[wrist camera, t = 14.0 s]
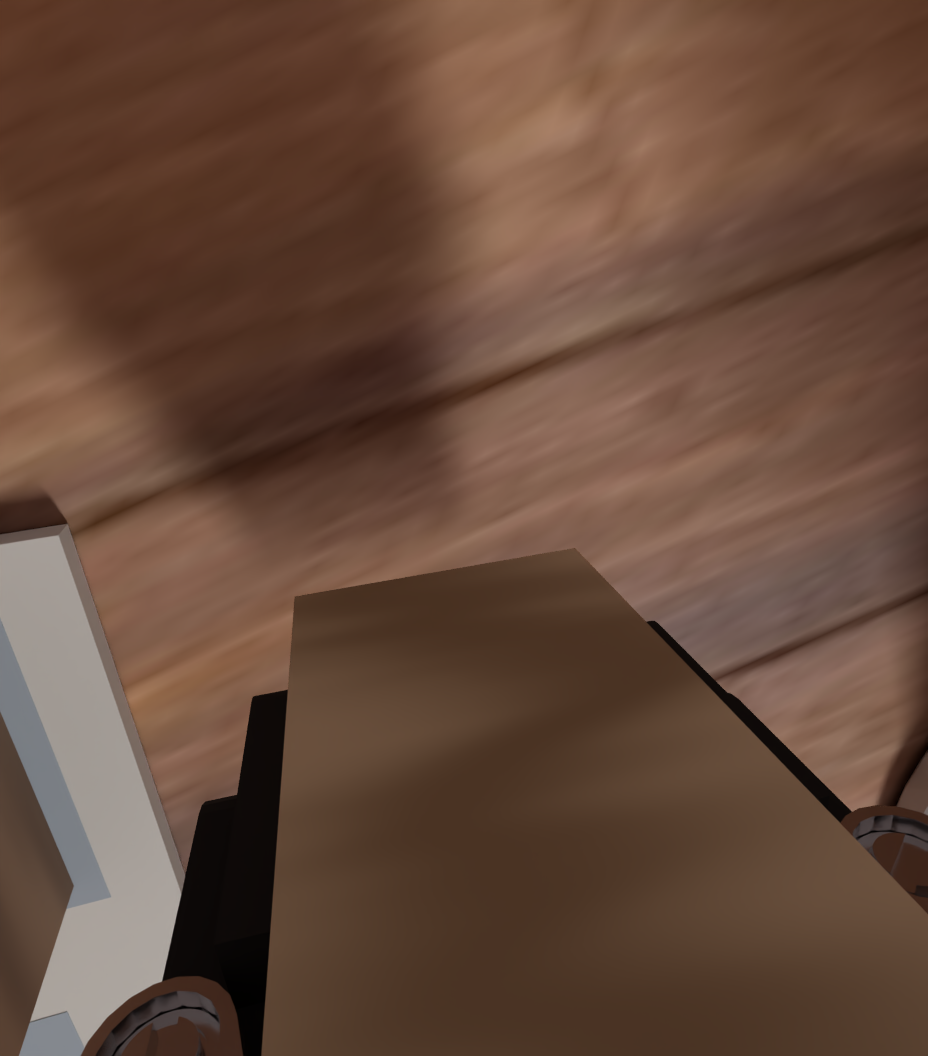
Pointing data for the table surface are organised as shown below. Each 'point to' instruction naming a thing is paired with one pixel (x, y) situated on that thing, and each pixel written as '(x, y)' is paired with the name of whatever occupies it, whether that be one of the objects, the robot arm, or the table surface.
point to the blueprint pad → (83, 792)
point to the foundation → (25, 897)
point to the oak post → (557, 844)
